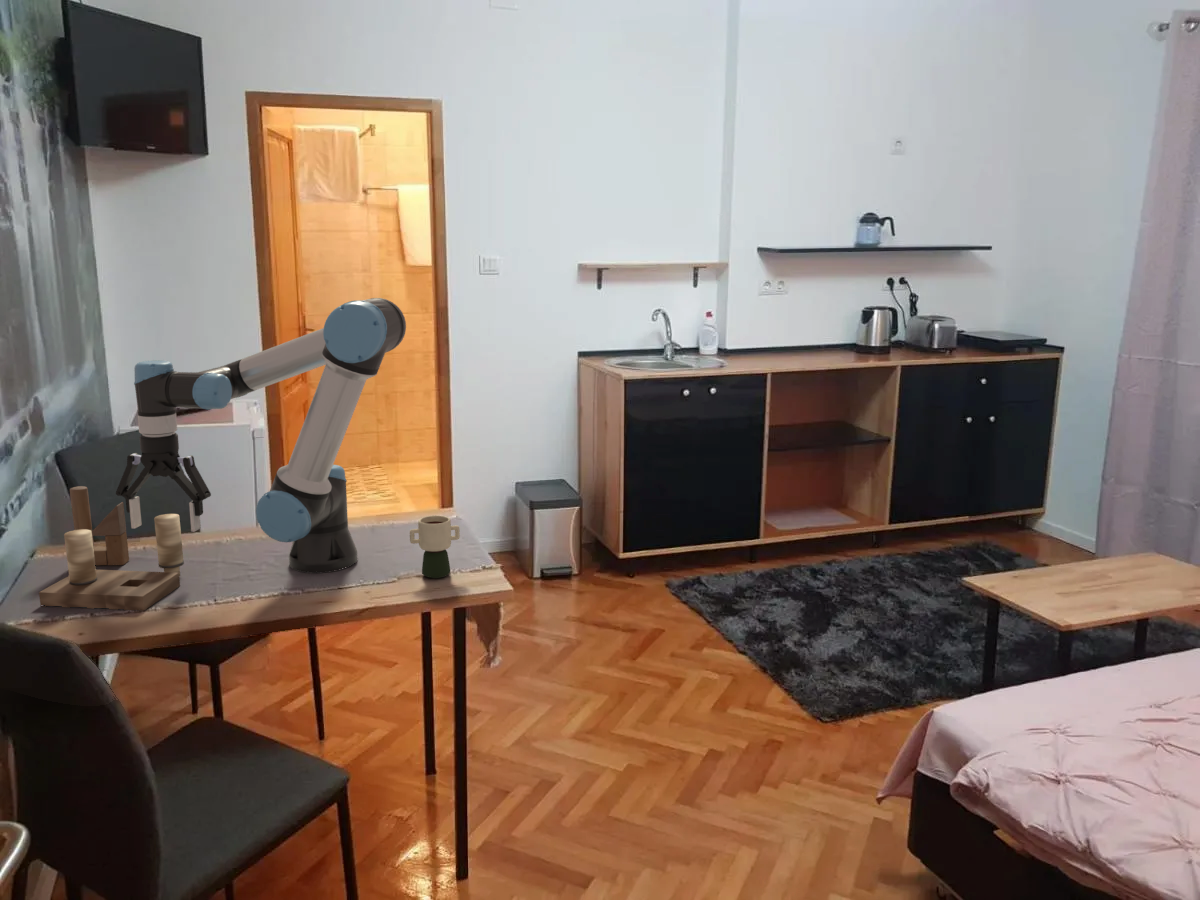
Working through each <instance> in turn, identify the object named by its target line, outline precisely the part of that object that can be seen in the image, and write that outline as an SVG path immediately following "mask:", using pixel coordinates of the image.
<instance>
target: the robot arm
mask: <svg viewBox="0 0 1200 900" xmlns="http://www.w3.org/2000/svg"><path fill="white" fill-rule="evenodd" d="M406 328H407V322H406V318H405V315H404V313H403V311H402V310H401V308H400V307H399V306H398V305H397V304H396V303H394V302H392V301H390V300H388V299H386V298H383V297H372V298H368V299H364V300H363V299H362V300H361V299H360V300H351V301H348V302H344V303H343V304H341V305H339V306H337V307H336V308H334V309H333V310H332V311H331V312H330V313H329V315H328V316H327V318H326V320H325V322H324V325H323V328H320V329H317V330H315V331H312V332H309V333H306V334H304V335H302V336H299V337H296V338H293V339H291V340H289V341H285V342H283V343H281V344H278V345H275V346H272V347H270V348H267V349H265V350H262V351H259V352H256V353H253V354H251V355H249V356H247V357H244V358H242V359H238V360H235V361H232V362H230V363H227V364H225V365H221V366H217V367H213V368H211V369H206V370H202V371H198V372H197V371H196V372H192V371H191V372H188V371H185V372H184V371H181V372H180V371H176V370H174V369H175V368H173V367H174V366H173V363H172V362H171V361H168V360H154V359H153V360H144V361H139V362H137V363H136V364H135V365H134V382H133V385H134V388H135V396H136V397H135V398H136V406H137V421H138V422H137V424H138V433H140V436H139V447H140V452H141V454H139V453H137V452H134V453H132V454H129V455H127V457H126V466H125V469H124V471H123V474H122V476H121V478H120V481H119V484H118V486H117V489H116V491H115V495H117V496H118V497H119V496H120V497H123V498H124V499H125V508H126V512H127V513H129V515H130V516H129V517H130V528H131V529H137V528H138V527H140V526H142V515H141V514H142V513H141V501H140V496H137V494H138V492H139V491H140V489H142V487H143V486H144V484H145V483H146V482H147V481H148V479H150V477H151V476H152V477H159V476H160V477H163V478H164V477H165V478H167V477H169V478H170V479H171V480H174V481H175V482H176V484H178V486H179V487H180V488H181V489H182V490H183V491H184V493H185V494H186V495H187V496H188V497H189V499H191V501H190V502H188V505H189V506H188V507H189V518H190V532H192V533H193V532H194V533H195V532H197V531H198V530H200V529H201V526H202V525H201V516H202V515H203V514H204V506H203V501H205V500H206V499H208V498H210V497H211V496H212V493H211V491H210V489H209V488H208V486H207V483H206V482H205V480H204V479H203V476H202V475H201V473H200V471H199V469H198V468H197V466H196V462H195V457H194V455H191V454H190V455H187V456H180V454H179V450H180V445H179V443H180V442H179V435H178V433H177V431H178V422H177V421H178V419H177V410H176V409H177V408H184V409H185V408H187V409H201V410H202V409H203V410H206V411H207V410H209V411H211V410H221V409H224V408H226V407H227V406H228V404H229V403H230V402H231V400H233V399H235V398H236V399H237V398H240V397H243V396H246V395H247V394H250V393H252V392H255V391H257V390H259V389H262V388H265V387H268V386H271V385H274V384H277V383H279V382H283V381H284V380H288V379H290V378H293V377H297V376H299V375H301V374H303V373H306V372H309V371H312V370H315V369H318V368H320V367H324V368H323V371H322V374H321V377H320V378H319V381H318V384H317V387H316V390H315V393H314V395H313V398H312V401H311V403H310V405H309V408H308V410H307V412H306V416H305V419H304V420H303V424H302V427H301V428H300V432H299V435H298V437H297V439H296V441H295V445H294V447H293V450H292V453H291V455H290V458H289V461H288V464H286V465H283V466H281V467H279V468H278V470H277V471H276V473H275V476H274V479H273V481H272V485H271V488H270V489H269V490H268V491H267V492H265V493H264V494H263V495H262V496H261V497H260V498H259V500H258V502H257V504H256V506H255V517H256V521H257V523H258V525H259V526H260V529H261V530H262V531H263V533H265V534H266V536H267V537H269V538H271V539H273V540H274V541H277V542H281V543H292V544H291V548H290V552H289V556H288V560H289V562H288V563H289V567H290V568H291V569H292V570H294V571H297V572H301V573H308V574H310V573H312V574H315V573H316V574H317V573H318V574H319V573H320V572H322V573H330V572H329V571H331V572H335V571H334V570H337V571H340V570H339V569H341V570H343V569H342V568H344V569H346V568H345V567H347V568H349V567H348V566H350V565H352V564H353V563H355V562H356V561H357V562H358V560H357V559H359V558H358V549H357V546H356V544H355V542H354V540H353V537H352V533H351V532H350V529H349V521H348V500H347V499H348V497H347V495H348V494H347V480H348V479H346V471H345V469H344V467H342V466H341V465H338V464H335V461H336V459H337V456H338V453H339V451H340V449H341V446H342V442H343V440H344V438H345V435H346V433H347V430H348V428H349V425H350V423H351V420H352V417H353V415H354V412H355V410H356V408H357V406H358V405H357V404H358V403H359V400H360V397H361V394H362V392H363V389H364V386H365V385H366V381H367V380H369V379H370V378H373V377H376V376H377V374H378V372H379V369H380V368H381V364H382V361H383V360H384V357H385V355H386V353H389V352H390V351H392V350H394V349H396V348H397V347H398V346H399V345H400V344H401V343H402V341H403V340H404V338H405V335H406V330H407V329H406ZM140 463H141V465H143V466H144V468H143V469H142V470H141V472H140V473H139V475H138V476H137V478H136V479H135V480H134V481H133V479H134V476H135V473H136V472H137V469H138V466H139V465H140ZM180 464H181V466H182V467H183V468H184V470H185V472H186V474H187V476H188V477H187V476H186V475H185V474H184V470H183V469H182V468H181V467H180V466H179V465H180ZM132 482H133V483H132ZM357 562H356V563H357ZM356 563H355V564H356ZM353 565H354V564H353ZM353 565H352V566H353ZM350 567H351V566H350Z"/></svg>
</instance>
